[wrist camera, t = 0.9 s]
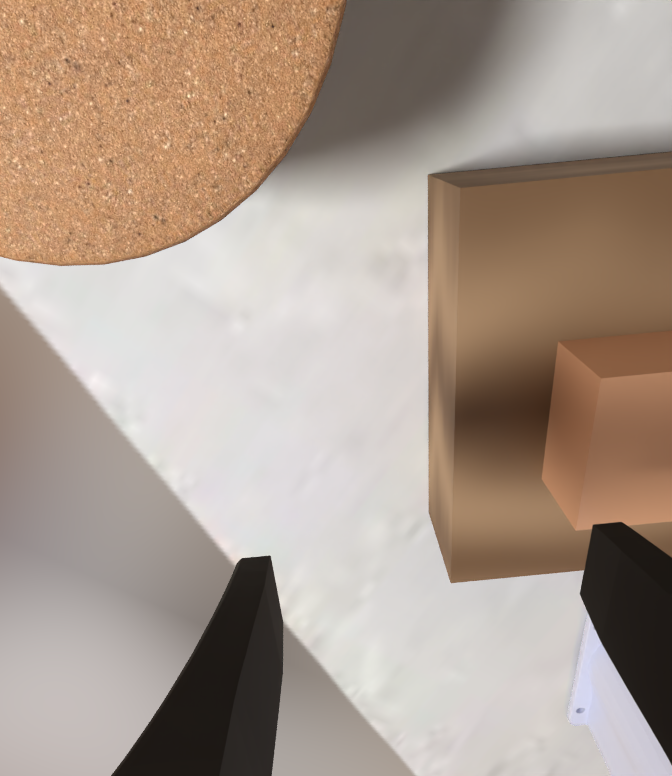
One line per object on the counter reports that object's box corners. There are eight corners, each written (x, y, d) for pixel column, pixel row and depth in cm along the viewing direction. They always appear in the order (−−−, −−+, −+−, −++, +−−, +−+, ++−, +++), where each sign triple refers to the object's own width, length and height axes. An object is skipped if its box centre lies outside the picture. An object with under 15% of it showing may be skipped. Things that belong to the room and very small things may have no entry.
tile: (688, 464, 17) (744, 514, 15) (541, 479, 17) (575, 530, 15) (727, 324, 15) (799, 359, 13) (558, 341, 15) (600, 378, 13)
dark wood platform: (763, 480, 23) (845, 544, 20) (428, 512, 23) (450, 583, 19) (889, 130, 17) (1046, 132, 13) (428, 175, 17) (460, 187, 13)
